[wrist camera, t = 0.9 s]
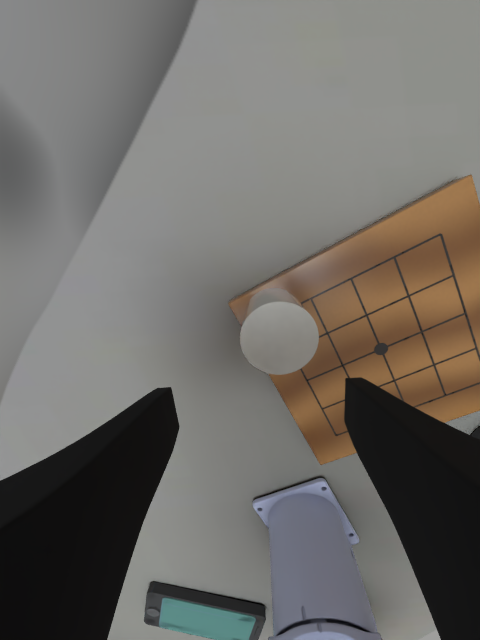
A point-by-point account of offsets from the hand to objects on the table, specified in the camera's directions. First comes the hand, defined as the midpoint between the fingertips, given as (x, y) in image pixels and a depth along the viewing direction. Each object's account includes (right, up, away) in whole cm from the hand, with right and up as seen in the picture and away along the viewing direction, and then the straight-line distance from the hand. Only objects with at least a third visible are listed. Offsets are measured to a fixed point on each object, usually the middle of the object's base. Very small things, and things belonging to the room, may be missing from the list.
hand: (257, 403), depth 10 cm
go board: (+10, +2, +9) cm, 14 cm away
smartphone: (-5, -35, +21) cm, 41 cm away
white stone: (+2, +4, +8) cm, 9 cm away
